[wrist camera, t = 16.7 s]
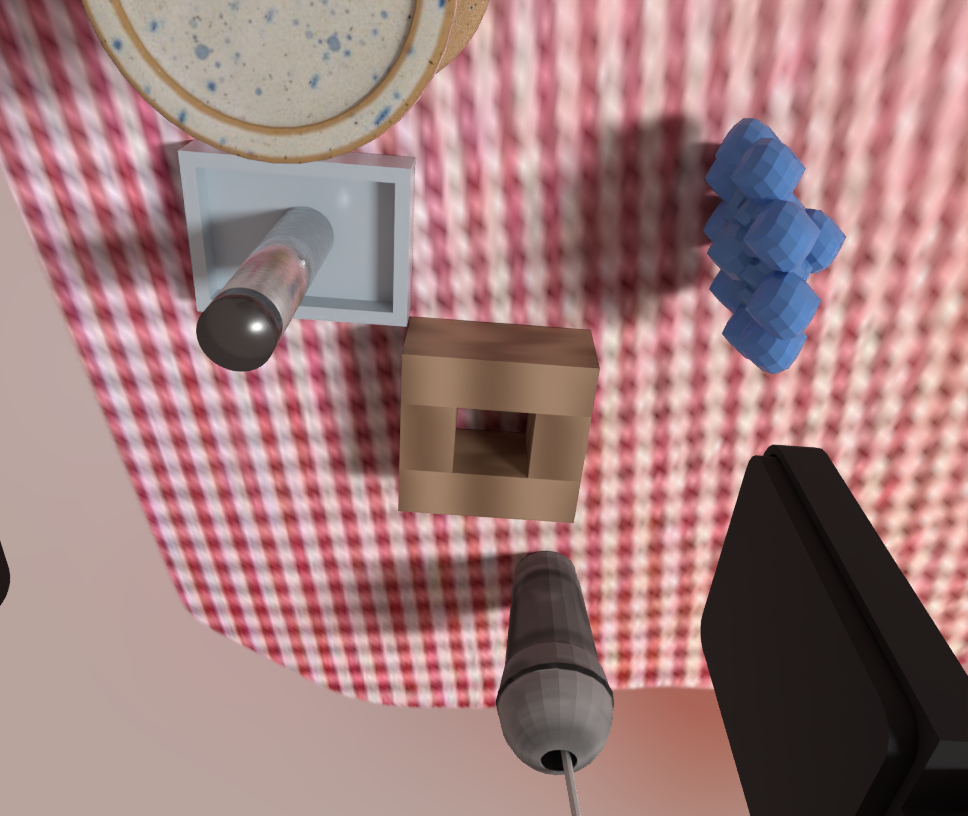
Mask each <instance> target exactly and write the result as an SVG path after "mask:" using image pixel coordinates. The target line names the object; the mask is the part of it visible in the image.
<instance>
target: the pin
mask: <svg viewBox="0 0 968 816" xmlns="http://www.w3.org/2000/svg"><path fill="white" fill-rule="evenodd" d="M333 243H334V232H333V228H332V226H331V224H330V222H329V220H328V219H327V218H326V217H325V216H324V215H323V214H322V213H321V212H319V211H317V210H316V209H313V208H310V207H305V206H300V207H294V208H292V209H289V210H288V211H286V212H285V213H284V214H283V215H282V216H281V218H280V219H279V220H278V221H277V222H276V224H275V225H274V226H273V227H272V229H271V230H270V231H269V232H268V233H267V235H266V236H265V237H264V238H263V240H262V241H261V242H260V243H259V244H258V246H257V247H256V248H255V249H254V250H253V252H252V253H251V254H250V255H249V257H248V258H247V259H246V260H245V261H244V263H243V264H242V265H241V266H240V268H239V269H238V270H237V271H236V272H235V274H234V275H233V276H232V277H231V279H230V280H229V281H228V282H227V283H226V285H225V286H224V287H223V288H222V290H221V291H220V292H219V293H218V294H217V296H216V297H215V298H214V299H213V300H212V302H211V303H210V304H209V305H208V307H207V308H206V309H205V310H204V311H203V313H202V314H201V316H200V317H199V320H198V322H197V328H196V334H197V339H198V342H199V345H200V347H201V349H202V350H203V352H204V353H205V354H206V355H207V356H208V357H209V358H210V359H211V360H212V361H213V362H214V363H216V364H218V365H219V366H221V367H223V368H226V369H228V370H232V371H251V370H254V369H257V368H259V367H261V366H262V365H263V364H265V363H266V362H267V361H268V359H269V358H270V356H271V355H272V353H273V351H274V349H275V348H276V346H277V344H278V342H279V341H280V339H281V337H282V335H283V333H284V332H285V330H286V328H287V326H288V325H289V323H290V321H291V319H292V318H293V316H294V314H295V312H296V311H297V309H298V307H299V305H300V303H301V302H302V300H303V298H304V296H305V295H306V293H307V291H308V289H309V288H310V286H311V284H312V282H313V280H314V279H315V277H316V275H317V273H318V272H319V270H320V268H321V266H322V265H323V263H324V261H325V259H326V258H327V256H328V254H329V252H330V250H331V249H332V246H333Z"/></svg>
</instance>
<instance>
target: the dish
mask: <svg viewBox="0 0 968 816" xmlns="http://www.w3.org/2000/svg"><path fill="white" fill-rule="evenodd" d="M178 157H179V165H180V173H181V182H182V190H183V198H184V206H185V214H186V222H187V231H188V239H189V247H190V255H191V263H192V271H193V280H194V288H195V296H196V304H197V311H202V312H203V311H204V310H205V309H206V308H207V307H208V305H209V304H210V303H211V302H212V300H213V299H214V298H215V297H216V296H217V294H218V293H219V292H220V291H221V290H222V288H223V287H224V286H225V285H226V283H227V282H228V281H229V280H230V279H231V277H232V276H233V275H234V274H235V272H236V271H237V270H238V269H239V268H240V266H241V265H242V264H243V263H244V261H245V260H246V259H247V258H248V257H249V255H250V254H251V253H252V252H253V250H254V249H255V248H256V247H257V246H258V244H259V243H260V242H261V241H262V240H263V238H264V237H265V236H266V235H267V233H268V232H269V231H270V230H271V229H272V227H273V226H274V225H275V224H276V222H277V221H278V220H279V219H280V218H281V216H282V215H283V214H284V213H285V212H286V211H288V210H289V209H292V208H294V207H300V206H305V207H310V208H313V209H316V210H317V211H319V212H321V213H322V214H323V215H324V216H325V217H326V218H327V219H328V220H329V222H330V224H331V226H332V228H333V232H334V243H333V246H332V249H331V250H330V252H329V254H328V256H327V258H326V259H325V261H324V263H323V265H322V266H321V268H320V270H319V272H318V273H317V275H316V277H315V279H314V280H313V282H312V284H311V286H310V288H309V289H308V291H307V293H306V295H305V296H304V298H303V300H302V302H301V303H300V305H299V307H298V309H297V311H296V312H295V314H294V316H293V318H296V319H310V320H323V321H337V322H350V323H364V324H377V325H391V326H404V327H407V323H408V319H409V315H410V311H411V288H412V253H413V218H414V183H415V157H405V156H392V155H380V154H367V153H355V152H349V153H346V154H343V155H340V156H337V157H334V158H331V159H328V160H322V161H316V162H309V163H303V164H273V163H267V162H261V161H255V160H249V159H245V158H242V157H239V156H236V155H233V154H230V153H226V152H223V151H220V150H218V149H216V148H214V147H212V146H210V145H208V144H206V143H204V142H202V141H200V140H193V141H191V142H190V143H188V144H187V145H185V146H184V147H182V148H181V149H179V150H178Z"/></svg>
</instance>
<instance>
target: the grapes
mask: <svg viewBox="0 0 968 816" xmlns="http://www.w3.org/2000/svg"><path fill="white" fill-rule="evenodd" d="M715 157H716V160H715V161H714V163H713V165H712V166H711V168H710V169H709V171H708V173H707V175H706V177H705V181H706V182H707V183H708V184H709V185H710V187H711V188H712V189H713V190H714V191H715V193H716V194H717V195H718V196H719V197H720V198H721V199H723V200H724V201H722V202H721V203H720V204H719V205H718V206H717V208H716V209H715V210H714V212H713V213H712V215H711V216H710V218H709V219H708V221H707V223H706V225H705V227H704V229H703V232H704V233H705V234H706V235H707V237H708V238H709V239H710V240H711V241H712V244H711V246H710V248H709V250H708V252H707V254H708V255H709V256H710V258H711V259H712V260H713V261H714V263H715V264H716V265H717V266H718V267H719V268H720V269H721V270H720V271H719V273H718V274H717V276H716V277H715V279H714V281H713V283H712V285H711V287H710V291H711V292H712V293H713V294H714V295H715V297H716V298H717V299H718V300H719V301H720V302H721V303H722V304H723V305H724V306H725V307H726V308H727V309H728V310H730V311H731V312H732V313H733V315H732V316H731V318H730V319H729V321H728V322H727V324H726V326H725V328H724V330H723V332H722V334H723V335H724V337H725V338H726V339H727V340H728V342H729V343H730V344H731V345H732V346H733V347H734V348H735V349H736V350H737V351H738V352H740V353H741V354H742V355H743V356H744V357H745V358H747V359H750V360H751V361H752V362H753V363H754V364H755V365H756V366H757V367H759V368H760V369H761V370H762V371H765V372H768V373H771V374H776V373H779V372H781V371H784V370H786V369H788V368H789V367H790V366H791V364H792V363H793V362H794V361H795V359H796V358H797V356H798V354H799V352H800V351H801V349H802V347H803V345H804V343H805V340H806V338H807V335H806V334H805V333H804V332H803V331H804V330H805V329H806V327H807V326H808V325H809V323H810V322H811V320H812V318H813V316H814V315H815V313H816V311H817V308H818V306H819V304H820V302H821V299H820V298H819V297H818V296H817V294H816V293H815V292H814V291H813V290H812V288H811V287H810V286H809V285H808V284H807V282H806V281H807V279H808V277H809V275H810V273H819V272H821V271H822V270H824V269H826V268H828V267H829V265H830V264H831V263H832V261H833V260H834V259H835V257H836V256H837V254H838V252H839V250H840V249H841V247H842V244H843V242H844V240H845V238H846V236H845V235H844V233H843V232H842V231H841V230H840V228H839V227H838V226H837V225H836V223H835V222H834V221H833V220H832V218H830V217H829V216H828V215H826V214H825V213H824V212H822V211H821V210H815V209H806V208H805V207H804V206H803V205H802V203H801V202H800V201H799V200H798V198H796V197H795V195H794V194H793V193H792V191H793V190H794V189H795V187H796V186H797V184H798V183H799V181H800V179H801V177H802V175H803V173H804V171H805V169H806V168H805V167H804V166H803V164H802V163H801V162H800V160H799V159H798V158H797V157H796V155H795V154H794V153H793V152H792V150H791V149H790V148H789V147H787V146H786V145H785V144H783V143H782V142H781V141H780V140H779V138H778V137H777V136H776V135H775V134H774V132H773V131H772V130H771V129H770V128H769V127H768V126H767V125H765V124H764V123H762V122H761V121H760V120H757V119H754V118H743V119H742V120H741V121H739V122H738V123H737V124H736V125H734V126H733V128H732V129H731V130H730V131H729V132H728V134H727V136H726V137H725V139H724V140H723V142H722V143H721V145H720V147H719V149H718V151H717V153H716V155H715Z"/></svg>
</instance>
